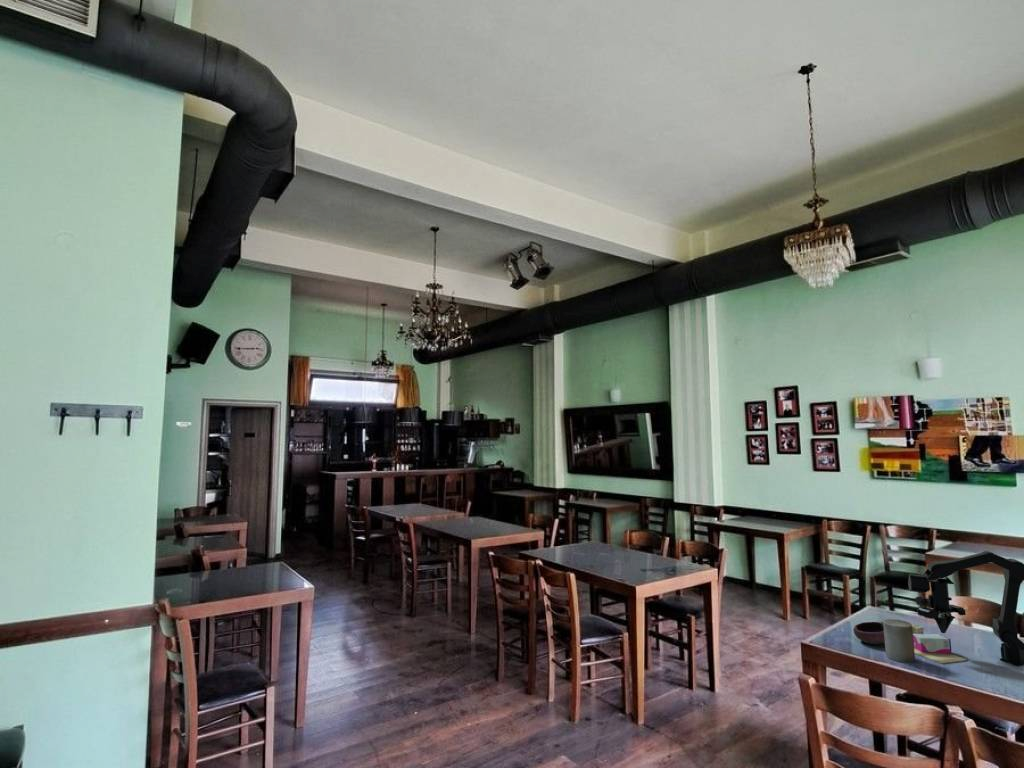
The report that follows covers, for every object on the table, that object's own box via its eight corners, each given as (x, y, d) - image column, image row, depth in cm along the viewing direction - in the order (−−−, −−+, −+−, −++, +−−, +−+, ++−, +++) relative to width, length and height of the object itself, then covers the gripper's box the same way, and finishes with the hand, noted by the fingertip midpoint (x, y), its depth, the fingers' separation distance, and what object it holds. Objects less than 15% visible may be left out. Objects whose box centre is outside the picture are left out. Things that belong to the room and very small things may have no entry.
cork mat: (967, 660, 216) (967, 659, 216) (941, 664, 213) (941, 663, 213) (929, 647, 231) (929, 646, 231) (905, 650, 227) (905, 649, 227)
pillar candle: (913, 656, 221) (910, 617, 223) (916, 664, 212) (913, 624, 214) (884, 652, 226) (881, 614, 227) (886, 660, 217) (883, 620, 219)
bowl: (888, 651, 226) (886, 630, 227) (852, 643, 235) (850, 624, 235) (892, 640, 239) (890, 621, 240) (857, 633, 247) (856, 615, 248)
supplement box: (940, 634, 229) (911, 633, 230) (950, 639, 223) (920, 638, 224) (942, 648, 228) (912, 647, 229) (952, 653, 222) (922, 652, 223)
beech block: (924, 646, 231) (923, 627, 232) (918, 648, 230) (917, 628, 230) (914, 643, 235) (913, 624, 236) (908, 644, 233) (907, 625, 234)
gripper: (937, 587, 236) (940, 624, 235) (903, 590, 232) (906, 628, 230) (964, 594, 226) (968, 633, 224) (929, 597, 221) (933, 637, 219)
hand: (943, 633), depth 225 cm, fingers closed
